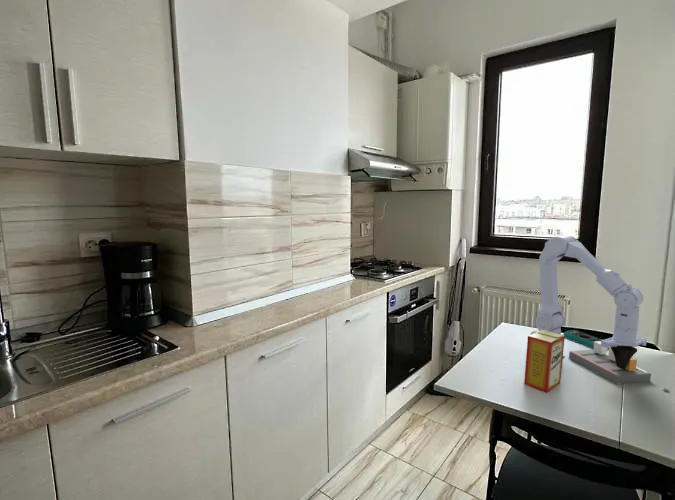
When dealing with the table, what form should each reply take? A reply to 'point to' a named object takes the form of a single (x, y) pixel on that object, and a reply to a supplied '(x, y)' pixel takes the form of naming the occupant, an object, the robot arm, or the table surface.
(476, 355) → the table surface
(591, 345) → the digital multimeter
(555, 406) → the table surface
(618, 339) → the robot arm
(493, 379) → the table surface
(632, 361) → the orange small block
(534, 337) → the baking soda box
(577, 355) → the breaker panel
